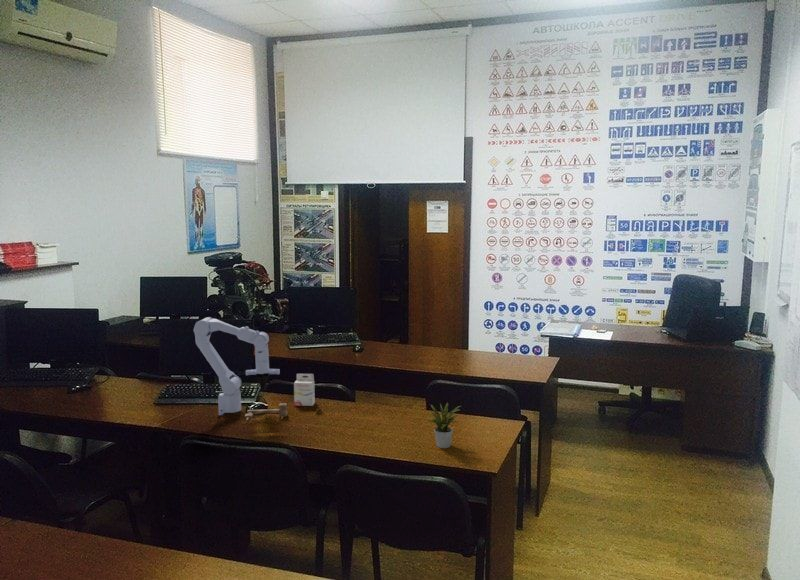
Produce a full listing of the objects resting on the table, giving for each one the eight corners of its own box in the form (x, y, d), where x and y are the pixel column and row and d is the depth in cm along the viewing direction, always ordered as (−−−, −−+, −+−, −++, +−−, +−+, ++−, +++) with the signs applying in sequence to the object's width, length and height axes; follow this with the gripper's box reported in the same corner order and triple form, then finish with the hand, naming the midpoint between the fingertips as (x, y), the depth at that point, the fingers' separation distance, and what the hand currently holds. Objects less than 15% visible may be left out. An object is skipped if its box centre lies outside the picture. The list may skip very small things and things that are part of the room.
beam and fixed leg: (243, 420, 262) (243, 417, 261) (248, 413, 271) (247, 409, 271) (283, 419, 262) (283, 416, 262) (287, 412, 272) (287, 408, 272)
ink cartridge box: (294, 408, 280) (292, 376, 279) (297, 404, 285) (295, 373, 284) (312, 408, 280) (311, 376, 278) (315, 404, 285) (314, 373, 283)
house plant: (467, 453, 224) (467, 408, 222) (429, 454, 222) (428, 410, 221) (460, 439, 238) (460, 397, 236) (424, 440, 237) (424, 398, 235)
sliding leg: (278, 418, 262) (277, 407, 261) (281, 411, 272) (281, 400, 271) (285, 418, 262) (284, 407, 262) (288, 411, 272) (288, 400, 271)
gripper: (243, 362, 268) (245, 393, 270) (277, 361, 268) (278, 392, 270) (246, 359, 275) (248, 389, 277) (279, 358, 275) (281, 388, 277)
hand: (263, 390), depth 274 cm, fingers closed
